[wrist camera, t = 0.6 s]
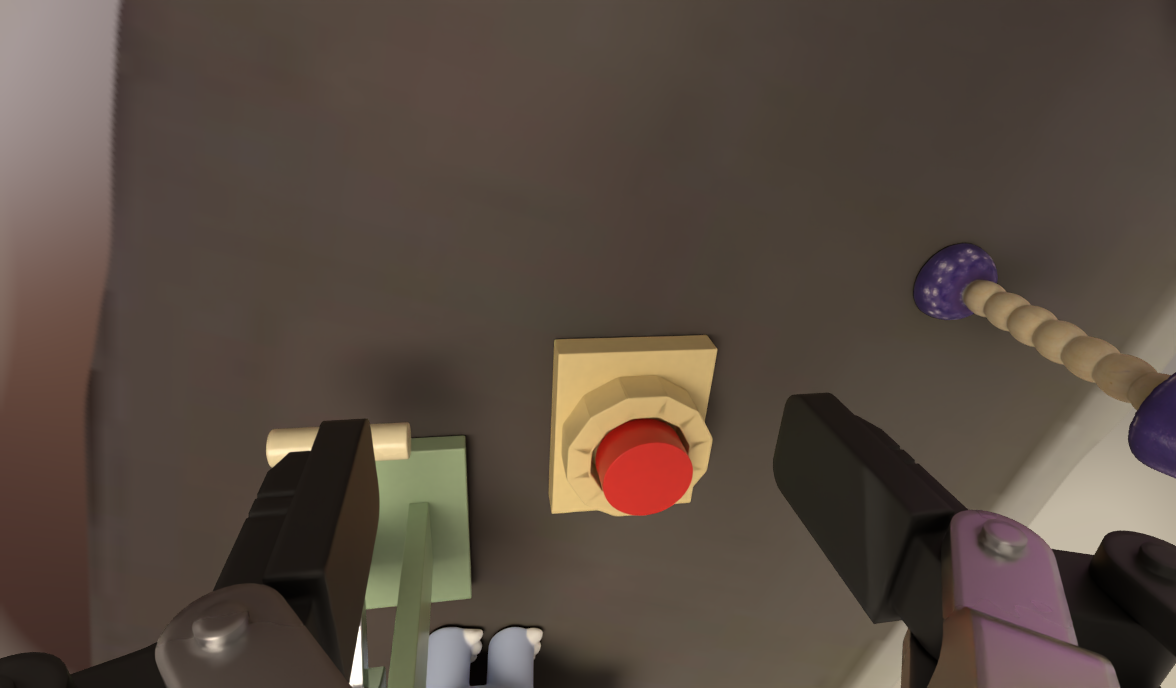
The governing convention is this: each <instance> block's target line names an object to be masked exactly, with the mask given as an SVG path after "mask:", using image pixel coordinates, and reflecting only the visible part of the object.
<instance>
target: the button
mask: <svg viewBox="0 0 1176 688" xmlns="http://www.w3.org/2000/svg"><path fill="white" fill-rule="evenodd" d="M595 463H596V469H597V472H598V475H599V479H600V482H601V486H602V489H603V492H604V495H605V498H606V499H607V501H608V502H609V504H610V505H611V506H613V507H614V508H615V509H617V510H618V511H620V512H622V513H626V514H630V515H650V514H654V513H657V512H660V511H663V510H665V509H667V508H669V507H670V506H672V505H673V504H675V503H676V502H677V501H678V500H680V499H681V498H682V496H683V495H684V494H685V493H686V491H687V490H688V488H689V486H690V484H691V481H692V477H693V466H692V462H691V460H690V458H689V456H688V454H687V452H686V450H685V448H684V446H683V444H682V442H681V440H680V438H679V436H678V435H677V433H676V432H675V430H674V429H673V428H672V427H670V426H669V425H667V424H666V423H664V422H661V421H658V420H654V419H636V420H632V421H629V422H626V423H624V424H621V425H619V426H618V427H616V428H615V429H613V430H612V431H610V432H609V433H608V434H607V435H606V436H605V438H604V439H603V440H602V442H601V443H600V445H599V447H598V449H597V452H596V458H595Z"/></svg>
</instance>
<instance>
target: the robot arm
mask: <svg viewBox="0 0 1176 688" xmlns="http://www.w3.org/2000/svg"><path fill="white" fill-rule="evenodd" d="M914 461H915V460H914V459H913V458H912V457H911V456H910V455H909V454H908V453H907V452H905V451H904V450H900V446H899V445H898V444H897V443H896V442H895V441H894V440H893V439H891V438H890V437H889V436H888V435H887V434H886V433H885V432H884V431H883V430H882V429H880V428H878V427H876V426H875V425H873V424H871V423H869V422H867V421H866V420H864V419H862V418H860V417H859V416H857V415H856V416H855V415H854V414H853V413H852V412H851V411H850V410H849V409H848V408H847V407H845V406H844V405H843V404H842V403H841V402H840V401H839V400H838V399H837V398H836V397H835V396H834V395H833V394H831V393H814V394H797V395H792V396H790V397H789V398H788V400H787V401H786V404H785V408H784V412H783V417H782V421H781V426H780V430H779V435H778V440H777V444H776V449H775V453H774V458H773V471H774V477H775V481H776V483H777V486H778V488H779V489H780V491H781V493H782V494H783V495H784V497H785V498H786V500H787V501H788V502H789V504H790V505H791V507H792V508H793V510H794V511H795V512H796V514H797V515H798V517H799V518H800V520H801V521H802V522H803V524H804V525H805V527H806V528H807V530H808V531H809V532H810V534H811V535H812V537H813V538H814V540H815V541H816V542H817V544H818V545H819V547H820V548H821V549H822V551H823V552H824V554H825V555H826V557H827V558H828V559H829V561H830V562H831V564H832V565H833V567H834V568H835V569H836V571H837V572H838V574H839V575H840V577H841V578H842V579H843V581H844V582H845V584H846V585H847V587H848V588H849V589H850V591H851V592H852V594H853V595H854V597H855V598H856V599H857V601H858V602H859V604H860V605H861V606H862V608H863V609H864V611H865V612H866V614H867V615H868V616H869V618H870V619H871V621H872V622H873V624H877V623H884V622H892V621H899V620H903V621H904V623H905V624H906V625H907V627H908V630H907V632H906V635H905V637H904V640H903V651H902V675H901V688H1161V687H1160V685H1161V683H1162V682H1163V680H1164V679H1165V678H1166V676H1167V675H1168V673H1169V672H1170V671H1171V669H1172V668H1173V666H1174V665H1175V664H1176V546H1175V545H1173V544H1170V543H1168V542H1166V541H1164V540H1161V539H1158V538H1155V537H1153V536H1149V535H1146V534H1142V533H1137V532H1132V531H1113V532H1110V533H1108V534H1107V535H1105V536H1104V538H1103V540H1102V542H1101V544H1100V546H1099V547H1098V550H1097V551H1096V553H1095V555H1089V554H1082V553H1075V552H1069V551H1062V550H1055V549H1051V548H1050V547H1049V545H1048V544H1047V543H1046V542H1045V541H1044V540H1043V539H1042V538H1041V537H1040V536H1038V535H1037V534H1036V533H1034V532H1033V531H1032V530H1031V529H1029V528H1027V527H1026V526H1024V525H1022V524H1021V523H1019V522H1017V521H1015V520H1012V519H1010V518H1008V517H1005V516H1002V515H999V514H996V513H992V512H988V511H982V510H968V509H967V508H966V507H965V506H964V505H962V504H961V503H960V502H959V501H958V500H957V499H956V498H955V497H954V496H953V495H952V494H951V493H950V492H948V491H947V490H946V489H945V488H944V487H943V486H942V485H941V484H940V483H939V482H938V481H937V480H936V479H934V478H933V477H932V476H931V475H930V474H929V473H928V472H927V471H926V470H925V469H924V468H923V467H922V466H920V465H919V464H915V462H914ZM379 510H380V497H379V485H378V478H377V470H376V463H375V456H374V448H373V441H372V433H371V427H370V423H369V420H368V419H351V420H333V421H323V422H322V423H321V425H320V427H319V430H318V432H317V435H316V438H315V440H314V443H313V446H312V448H311V451H297V452H289V453H288V454H287V455H286V456H285V457H284V458H283V459H281V460H280V461H279V462H278V463H277V464H276V465H275V466H274V467H273V468H272V469H271V470H269V471H268V472H267V475H266V477H265V479H264V481H263V483H262V485H261V488H260V490H259V492H258V494H257V499H255V501H254V503H253V505H252V507H251V509H250V512H249V518H246V520H245V522H244V525H243V527H242V529H241V531H240V533H239V535H238V538H237V540H236V542H235V544H234V546H233V548H232V551H231V553H230V555H229V557H228V559H227V561H226V564H225V566H224V568H223V570H222V572H221V574H220V577H219V579H218V581H217V583H216V585H215V587H214V590H213V592H211V593H209V594H206V595H204V596H202V597H201V598H199V599H197V600H195V601H194V602H192V603H191V604H189V605H188V606H187V607H185V608H184V609H183V610H182V611H180V612H179V613H178V614H177V615H176V616H175V617H174V618H173V619H172V620H171V621H170V622H169V624H168V625H167V626H166V628H165V629H164V630H163V632H162V633H161V636H160V638H159V640H158V642H156V643H154V644H152V645H150V646H148V647H146V648H143V649H141V650H138V651H136V652H133V653H130V654H127V655H125V656H122V657H119V658H116V659H113V660H110V661H107V662H105V663H102V664H99V665H96V666H93V667H90V668H88V669H85V670H82V671H79V672H76V673H73V674H69V671H68V670H67V668H66V666H65V664H64V663H63V662H62V661H61V659H59V658H57V657H56V656H54V655H51V654H47V653H40V652H30V653H21V654H16V655H11V656H7V657H4V658H1V659H0V688H352V687H351V685H350V684H349V683H350V677H351V672H352V666H353V661H354V655H355V650H356V644H357V639H358V633H359V628H360V622H361V617H362V611H363V606H364V600H365V595H366V589H367V584H368V578H369V573H370V567H371V562H372V556H373V551H374V545H375V540H376V534H377V529H378V523H379ZM364 688H369V687H364Z"/></svg>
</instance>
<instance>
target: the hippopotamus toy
mask: <svg viewBox="0 0 1176 688" xmlns="http://www.w3.org/2000/svg"><path fill="white" fill-rule="evenodd" d="M542 635H543V632H542V630H540V629H538V628H528V629H525V628H521V627H510V628H506V629H503V630H501V631H500V632H498V633H497V634H496V635H495V636H494V637H493V638H492V639H491V641H490V644H489V648H488V667H487V684H486V685H478V686H470V685H469V675H470V663H472V662H474V661H475V660H476V658H477V654H478V653H480V651H481V649H482V643H481V641H480V639H481V638H482V636H483V631H482V630H481V629H463V628H459V627H445V628H441V629H438V630H436V631H434V632H433V633H432V634H431V635H430V636H429V644H428V660H427V677H426V688H533V660H534V659H535V655H536V654H537V653H538V652H539V651H540V648H541V643H540V642H539V641H540V640H541V638H542Z"/></svg>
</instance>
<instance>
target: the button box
mask: <svg viewBox="0 0 1176 688" xmlns="http://www.w3.org/2000/svg"><path fill="white" fill-rule="evenodd" d="M716 355H717V348H716V347H715V345H714V344H713V343H712V341H711V340H710V339H709V337H708V336H707V335H693V336H657V337H622V338H586V339H555V340H554V361H553V388H552V414H551V441H550V467H549V494H548V495H549V500H550V506H551V512H552V514H555V513H567V512H580V511H592V510H599V511H602V512H605V513H607V514H610V515H613V516H627V515H630V514H626V513H622V512H620V511H618V510H617V509H615V508H614V507H613V506H611V505H610V504H609V502H608V501H607V499H606V498H605V495H604V492H603V489H602V486H601V482H600V479H599V475H598V472H597V469H596V463H595V458H596V452H597V449H598V447H599V445H600V443H601V442H602V440H603V439H604V438H605V436H606V435H607V434H608V433H609V432H610V431H612V430H613V429H615V428H616V427H618V426H619V425H621V424H624V423H626V422H629V421H632V420H636V419H654V420H658V421H661V422H664V423H666V424H667V425H669V426H670V427H672V428H673V429H674V430H675V432H676V433H677V435H678V436H679V438H680V440H681V442H682V444H683V446H684V448H685V450H686V452H687V454H688V456H689V458H690V460H691V462H692V466H693V477H692V481H691V484H690V486H689V488H688V490H687V491H686V493H685V494H684V495H683V496H682V498H681V499H680V500H678V501H677V502H676V503H675V504H678V503H690V501H691V495H692V489H693V486H694V485H695V484H696V483H697V482H698V480H699V479H700V478H701V477H702V476H703V474H704V473H705V472H706V471H707V467H708V461H709V456H710V451H711V445H712V436H711V434H710V432H709V430H708V428H707V426H706V424H705V417H706V411H707V405H708V400H709V394H710V389H711V383H712V378H713V372H714V366H715V361H716Z"/></svg>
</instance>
